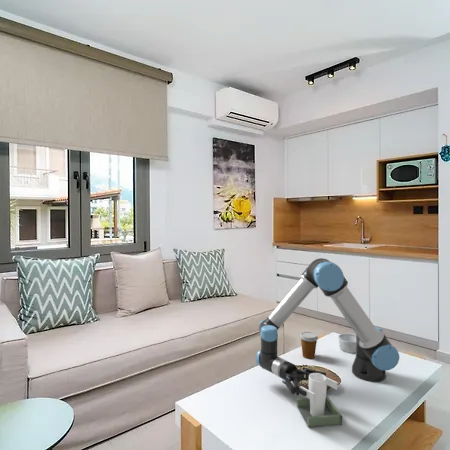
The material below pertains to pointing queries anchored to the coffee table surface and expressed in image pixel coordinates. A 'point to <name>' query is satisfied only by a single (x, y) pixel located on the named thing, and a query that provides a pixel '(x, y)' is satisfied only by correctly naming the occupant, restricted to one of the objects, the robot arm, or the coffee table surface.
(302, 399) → the tray
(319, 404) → the drinking glass
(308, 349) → the disposable coffee cup
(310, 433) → the coffee table surface
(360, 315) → the robot arm
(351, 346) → the ramekin
